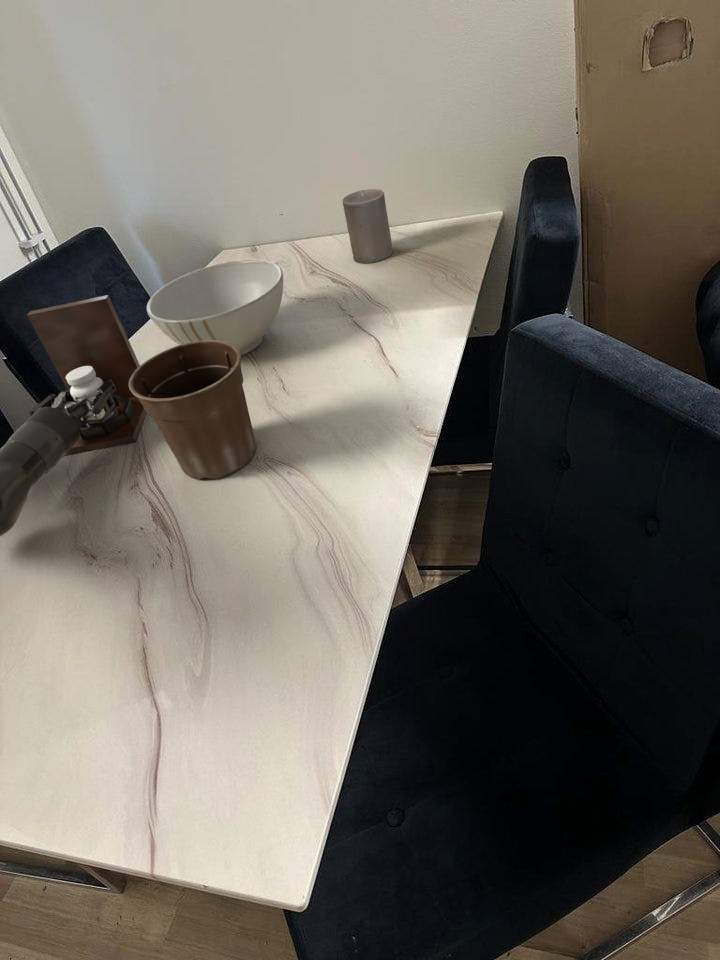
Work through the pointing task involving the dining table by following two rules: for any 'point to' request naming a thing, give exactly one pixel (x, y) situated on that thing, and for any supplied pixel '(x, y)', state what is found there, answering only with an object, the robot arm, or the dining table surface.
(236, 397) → the plant pot
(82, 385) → the pill bottle
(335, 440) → the dining table surface
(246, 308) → the decorative bowl
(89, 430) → the stand
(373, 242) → the pillar candle
